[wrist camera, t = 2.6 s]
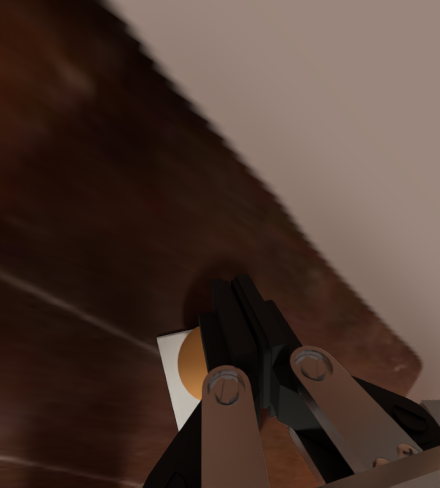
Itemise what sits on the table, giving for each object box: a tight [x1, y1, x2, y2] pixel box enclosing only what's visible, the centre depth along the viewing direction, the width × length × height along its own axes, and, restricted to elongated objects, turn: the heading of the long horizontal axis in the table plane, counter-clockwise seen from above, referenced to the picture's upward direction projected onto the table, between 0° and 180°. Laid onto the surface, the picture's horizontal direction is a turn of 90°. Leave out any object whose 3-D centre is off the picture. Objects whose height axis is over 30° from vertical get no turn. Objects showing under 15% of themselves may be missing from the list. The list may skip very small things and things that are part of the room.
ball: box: [177, 326, 208, 401], centre depth 20 cm, size 6×6×6 cm
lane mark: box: [157, 329, 200, 431], centre depth 26 cm, size 18×9×1 cm, turn 4°
